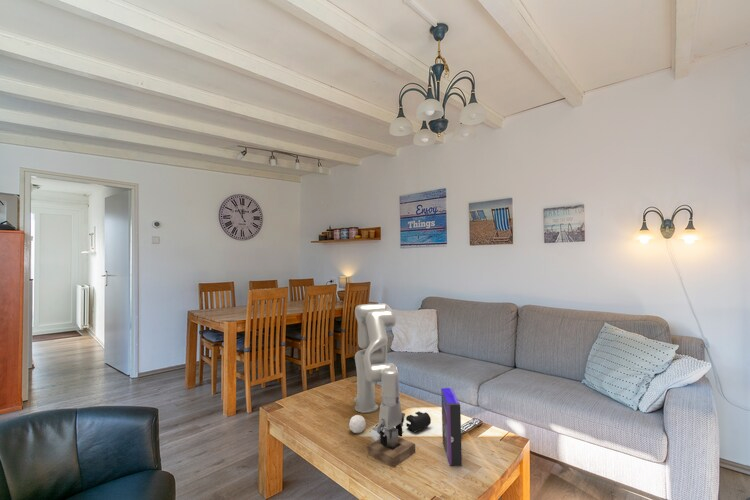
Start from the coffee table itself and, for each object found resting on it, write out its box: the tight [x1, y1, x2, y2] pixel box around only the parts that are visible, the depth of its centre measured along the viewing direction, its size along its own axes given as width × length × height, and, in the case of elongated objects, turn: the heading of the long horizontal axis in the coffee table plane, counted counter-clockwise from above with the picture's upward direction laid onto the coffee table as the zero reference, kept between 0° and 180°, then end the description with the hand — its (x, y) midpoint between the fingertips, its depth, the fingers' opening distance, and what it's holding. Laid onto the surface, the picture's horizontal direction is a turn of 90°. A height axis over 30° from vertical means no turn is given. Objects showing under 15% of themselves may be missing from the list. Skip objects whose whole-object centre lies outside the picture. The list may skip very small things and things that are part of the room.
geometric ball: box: [348, 414, 366, 434], centre depth 170 cm, size 8×8×8 cm
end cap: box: [405, 411, 432, 434], centre depth 171 cm, size 10×7×7 cm
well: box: [367, 436, 416, 468], centre depth 151 cm, size 14×14×4 cm
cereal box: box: [440, 387, 463, 467], centre depth 150 cm, size 17×5×24 cm, turn 178°
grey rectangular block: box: [383, 427, 399, 450], centre depth 151 cm, size 4×4×10 cm
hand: (391, 439), depth 151 cm, fingers open, 9 cm apart
